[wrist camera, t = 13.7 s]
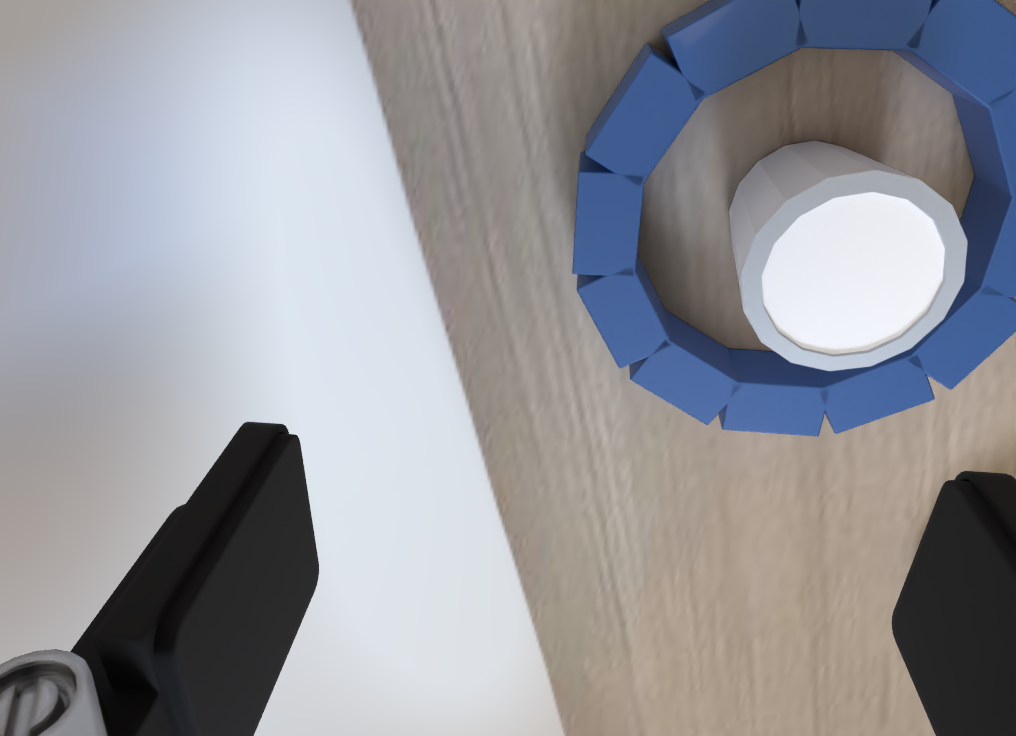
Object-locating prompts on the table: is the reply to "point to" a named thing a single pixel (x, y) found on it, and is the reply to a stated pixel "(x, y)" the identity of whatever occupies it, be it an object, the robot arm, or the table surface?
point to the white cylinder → (842, 256)
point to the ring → (723, 61)
